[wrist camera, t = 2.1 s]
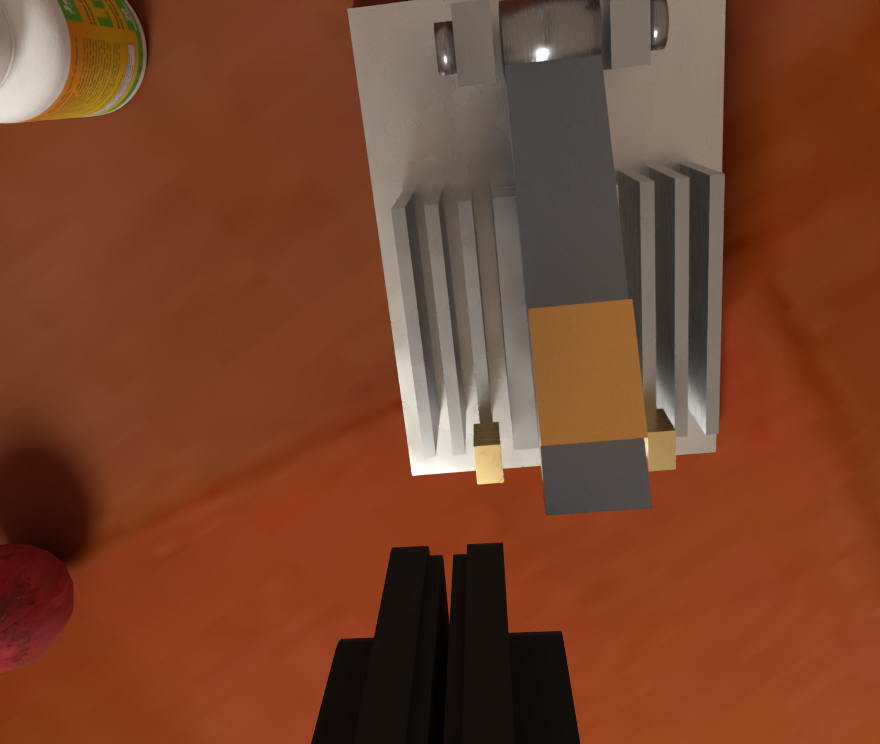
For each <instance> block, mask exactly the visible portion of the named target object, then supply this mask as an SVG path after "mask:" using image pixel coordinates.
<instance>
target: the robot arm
mask: <svg viewBox="0 0 880 744" xmlns="http://www.w3.org/2000/svg"><path fill="white" fill-rule="evenodd" d="M311 744H580V739H579V733H578V727H577V721H576V715H575V709H574V702H573V696H572V690H571V684H570V678H569V671H568V665H567V659H566V653H565V647H564V641H563V636H562V632H561V631H550V632H522V633H508V618H507V602H506V585H505V569H504V552H503V543H484V544H467V554H456V555H453V571H452V590H451V608H450V625H449V614H448V603H447V592H446V581H445V570H444V560H443V556H442V555H433V556H430V551H429V547H428V546H417V547H394V548H392V550H391V553H390V559H389V564H388V569H387V574H386V579H385V584H384V589H383V595H382V600H381V605H380V610H379V615H378V620H377V625H376V630H375V636H374V638H354V639H341V640H340V641H339V642H338V645H337V647H336V650H335V654H334V658H333V662H332V666H331V670H330V673H329V677H328V681H327V685H326V689H325V693H324V696H323V700H322V704H321V708H320V712H319V716H318V719H317V723H316V727H315V731H314V735H313V738H312V742H311Z"/></svg>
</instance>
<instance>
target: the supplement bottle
mask: <svg viewBox="0 0 880 744" xmlns="http://www.w3.org/2000/svg"><path fill="white" fill-rule="evenodd" d="M146 60H147V49H146V41H145V36H144V32H143V29H142V26H141V24H140V21H139V19H138V17H137V15H136V13H135V12H134V10H133V9H132V7H131V6H130V4H129V3H128V2H127V0H0V123H22V122H30V121H40V120H51V119H63V118H76V117H91V116H98V115H103V114H107V113H110V112H113V111H115V110H117V109H119V108H120V107H122V106H123V105H125V104H126V103H127V102H128V101H129V100H130V99H131V98H132V97H133V96H134V94H135V93H136V91H137V90H138V88H139V86H140V85H141V82H142V80H143V77H144V74H145V69H146Z"/></svg>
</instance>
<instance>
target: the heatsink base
mask: <svg viewBox="0 0 880 744" xmlns="http://www.w3.org/2000/svg"><path fill="white" fill-rule="evenodd" d="M499 1H501V0H413V1H405V2H397V3H389V4H382V5H374V6H366V7H358V8H350V9H347V10H348V17H349V24H350V31H351V38H352V46H353V53H354V60H355V67H356V74H357V82H358V89H359V96H360V103H361V110H362V118H363V125H364V132H365V139H366V146H367V153H368V161H369V168H370V175H371V182H372V189H373V197H374V204H375V211H376V218H377V225H378V233H379V240H380V247H381V254H382V261H383V269H384V276H385V283H386V290H387V297H388V304H389V312H390V319H391V326H392V333H393V340H394V348H395V355H396V362H397V369H398V376H399V384H400V391H401V398H402V405H403V412H404V420H405V427H406V434H407V441H408V448H409V456H410V463H411V470H412V475H425V474H438V473H451V472H463V471H476V475H477V484H488V483H501V482H504V479H503V468H515V467H528V466H541V463H540V453H539V442H538V431H537V421H536V410H535V399H534V389H533V378H532V367H531V357H530V346H529V335H528V325H527V314H526V303H525V293H524V282H523V271H522V261H521V250H520V239H519V229H518V218H517V207H516V197H515V186H514V175H513V165H512V154H511V143H510V133H509V122H508V111H507V101H506V90H505V82H504V76H503V68H502V57H501V45H500V30H499V10H498V2H499ZM599 1H600V9H601V22H602V51H601V56H602V65H603V74H604V83H605V92H606V101H607V110H608V119H609V127H610V136H611V145H612V154H613V163H614V172H615V181H616V190H617V199H618V208H619V217H620V226H621V235H622V244H623V253H624V262H625V271H626V280H627V289H628V298H629V299H633V308H634V317H635V326H636V335H637V344H638V353H639V361H640V370H641V379H642V388H643V397H644V406H645V415H646V424H647V433H648V437H647V438H644V441H645V450H646V459H647V468H648V471H659V470H672V469H676V455H683V454H696V453H709V452H716V434H719V400H720V357H721V315H722V272H723V229H724V187H725V174H724V173H722V146H723V100H724V55H725V10H726V0H599Z"/></svg>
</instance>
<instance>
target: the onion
mask: <svg viewBox="0 0 880 744" xmlns="http://www.w3.org/2000/svg"><path fill="white" fill-rule="evenodd" d="M72 612H73V581H72V579H71V577H70V575H69V573H68V570H67V568H66V566H65V565H64V564H63V562H61V561H60V560H59V559H58V558H57V557H56V556H55V555H53V554H52V553H51V552H49V551H47V550H44V549H41V548H39V547H36V546H33V545H31V544H6V545H0V673H1V672H6V671H10V670H14V669H18V668H20V667H23V666H25V665H28V664H29V663H30V662H32V661H33V660H35V659H36V658H38V657H39V656H40V655H41V654H43V653H44V652H45V651H46V650H48V649H49V648H50V647H51V646H52V645H53V644H54V643H55V642H56V641H57V640H58V639H59V638H60V636H61V634H62V632H63V630H64V628H65V626H66V624H67V622H68V620H69V618H70V616H71V614H72Z"/></svg>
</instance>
